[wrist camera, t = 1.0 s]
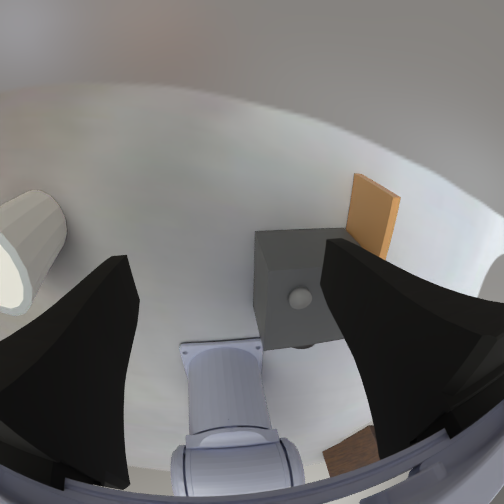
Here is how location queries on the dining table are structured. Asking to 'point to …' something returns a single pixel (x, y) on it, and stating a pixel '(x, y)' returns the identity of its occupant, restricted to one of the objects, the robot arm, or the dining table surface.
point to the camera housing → (293, 288)
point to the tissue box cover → (352, 452)
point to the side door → (372, 215)
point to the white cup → (28, 247)
